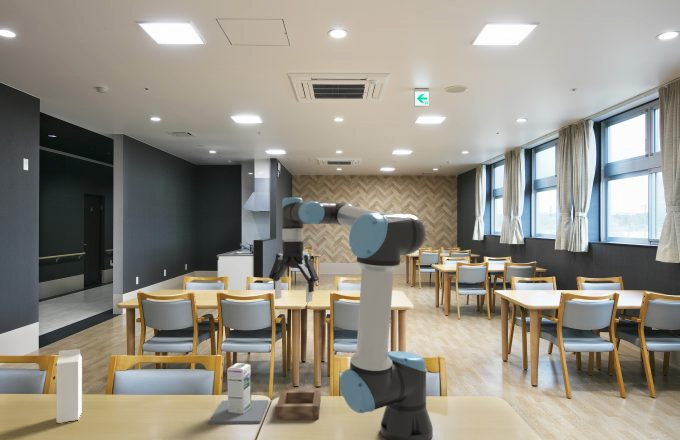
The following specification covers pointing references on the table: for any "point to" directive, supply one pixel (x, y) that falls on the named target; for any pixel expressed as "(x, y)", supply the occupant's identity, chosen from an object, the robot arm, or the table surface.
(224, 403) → the charcoal mat
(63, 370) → the milk
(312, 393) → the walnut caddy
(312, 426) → the table surface
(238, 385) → the syrup box
